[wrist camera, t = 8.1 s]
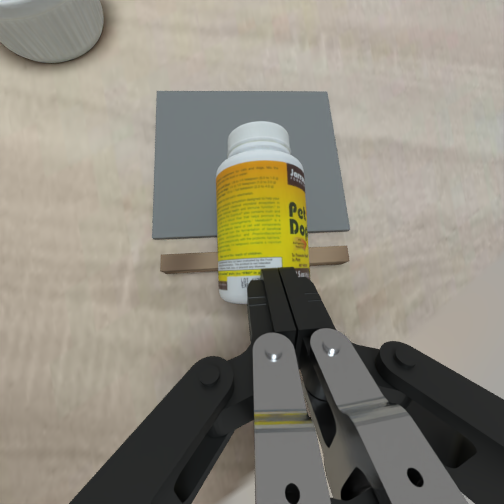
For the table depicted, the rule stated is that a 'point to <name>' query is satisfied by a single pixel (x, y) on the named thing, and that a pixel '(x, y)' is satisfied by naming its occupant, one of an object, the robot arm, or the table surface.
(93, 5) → the ramekin
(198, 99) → the mat
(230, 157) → the supplement bottle
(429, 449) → the robot arm
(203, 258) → the rail
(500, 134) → the table surface
